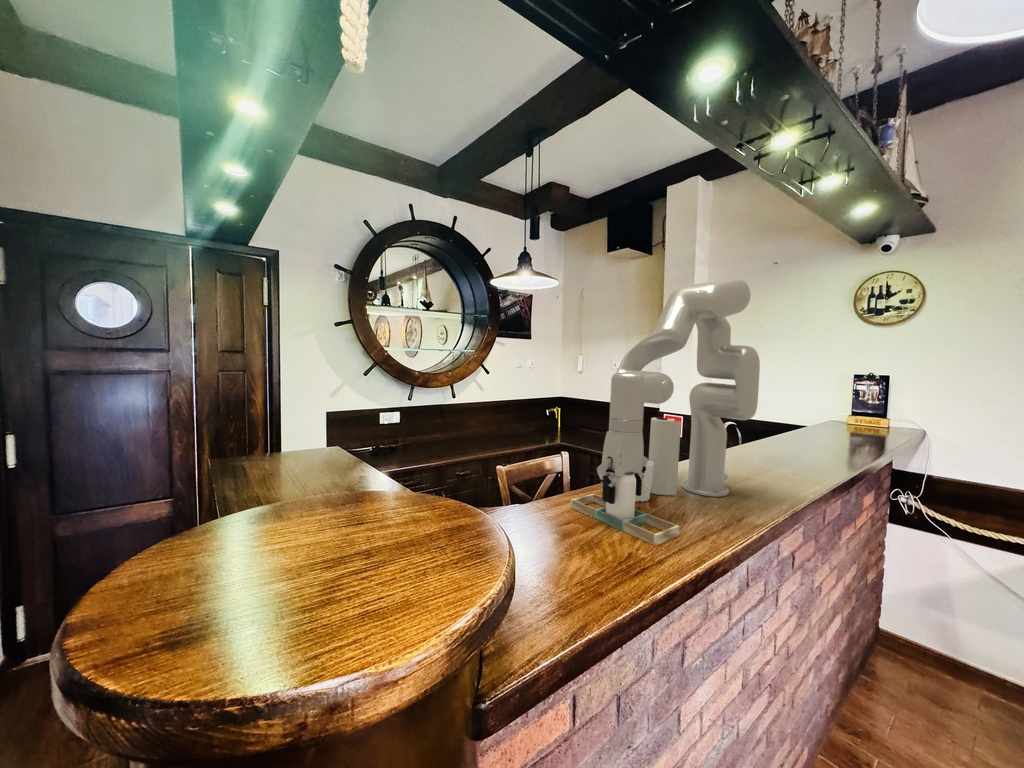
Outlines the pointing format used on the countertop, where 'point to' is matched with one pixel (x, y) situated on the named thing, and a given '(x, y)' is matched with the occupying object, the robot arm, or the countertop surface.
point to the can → (623, 497)
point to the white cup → (646, 483)
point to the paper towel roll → (664, 455)
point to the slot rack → (628, 521)
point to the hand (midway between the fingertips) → (621, 498)
